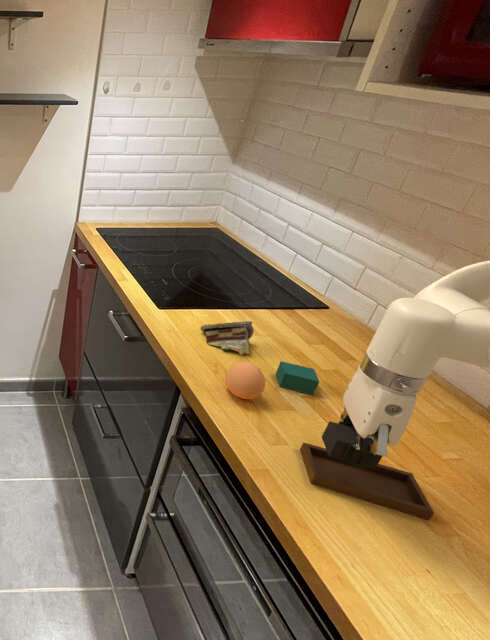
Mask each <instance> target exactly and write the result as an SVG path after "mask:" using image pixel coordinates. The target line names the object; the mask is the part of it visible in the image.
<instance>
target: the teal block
mask: <svg viewBox="0 0 490 640" xmlns="http://www.w3.org/2000/svg"><path fill="white" fill-rule="evenodd" d="M275 378H276V379H277V384H278V386H279V388H282V389H287V390H291V391H295V392H298V393H302V394H307V395H310V396H314V395H315V392H316V390H317V388H318V386H319V383H320V380H319V377H318V375H317V372H316V370H315V368H312V367H307V366H303V365H299V364H295V363H290V362H286V361H282V360H281V361H279V364H278V367H277V369H276V372H275Z"/></svg>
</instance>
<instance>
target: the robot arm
mask: <svg viewBox="0 0 490 640" xmlns="http://www.w3.org/2000/svg"><path fill="white" fill-rule="evenodd" d="M489 299H490V260H485V261H480V262H477V263H473V264H469V265H466V266H464V267H461V268H459V269H456V270H453V272H452V271H451V273H449V274H447V275H444V276H443V277H441V278H439V279H438V280H436V281H434V282H432V283H431V284H429V285H428V286H426V287H424V288H423V289H421V290H420V291H418V293H416V294H415V295H414V296H413V297H401V298H397V299H395V300H393V301H391V303H390V304H389V306H387V309H386V311H385V313H384V315H383V317H382V318H381V320H380V323H379V325H378V326H377V329H376V331H375V333H374V334H373V336H372V338H371V341H370V343H369V345H368V347H367V349H366V351H365V352H364V355H363V357H362V359H361V361H360V363H359V365H358V367H357V371H356V372H355V374H354V375H353V376H352V378H351V379H350V382H349V383H348V385H347V387H346V389H345V391H344V394H343V397H342V404H343V408H344V411H343V412H342V413H341V414H340V416H339V417H340V420H339V422H338V424H342V425H345V426H349V427H353V428H355V429H356V431H357V435H356V438H355V441H354V444H350V445H349V446H348V448H347V450H346V452H345V454H344V456H343V458H342V460H343V462H344V463H347V464H350V465H353V466H357V467H360V468H366V466H367V465H368V463H369V461H370V460H371V458H372V456H373V454H374V455H376V454H377V455H381V456H382V457H384V458H385V457H386V456H387V452H388V446H390V447H396V446H398V444H399V443H400V441H401V439H402V437H403V435H404V433H405V431H406V429H407V427H408V425H409V423H410V420H411V418H412V416H413V413H414V410H415V406H416V402H417V395H418V394H419V393H420V392H421V390H422V389H423V387H424V385H425V383H426V382H427V380H428V379H429V377H430V375H431V374H432V372H433V369H434V368H435V366H436V365H437V363H438V362H439V360H440V359H441V358H446V359H450V360H455V361H457V362H462V363H465V364H469V365H473V366H478V367H483V368H490V308H488V307H487V306H485V305H483V304H482V303H483V302H484V301H487V300H489ZM373 433H374V434H373ZM364 438H367V439H371V440H372V443H371V444H367V443H362V442H363V439H364Z"/></svg>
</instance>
